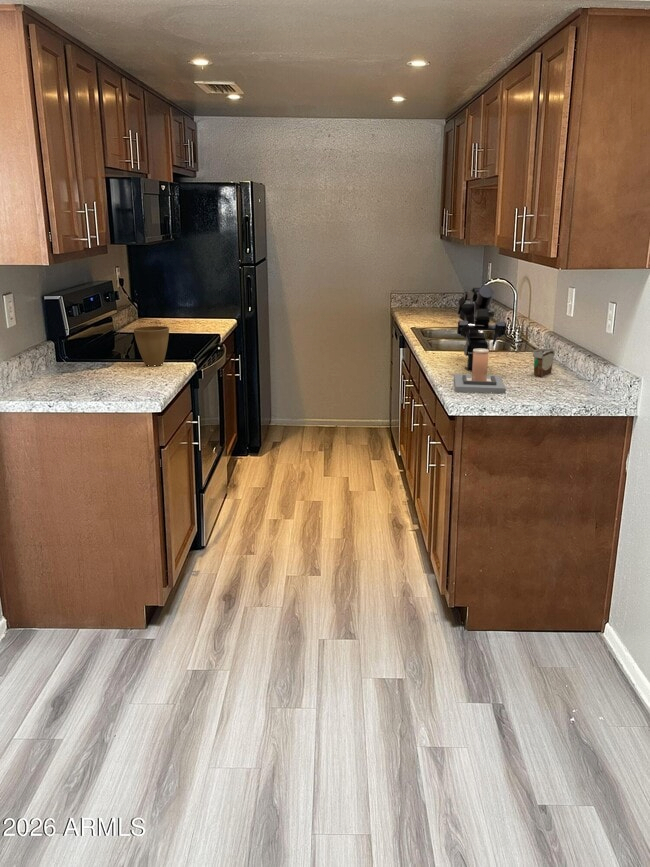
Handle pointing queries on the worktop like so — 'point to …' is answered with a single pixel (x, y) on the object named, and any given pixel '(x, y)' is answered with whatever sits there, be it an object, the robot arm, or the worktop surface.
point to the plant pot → (152, 343)
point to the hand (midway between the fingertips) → (481, 345)
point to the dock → (479, 384)
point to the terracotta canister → (480, 364)
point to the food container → (543, 362)
